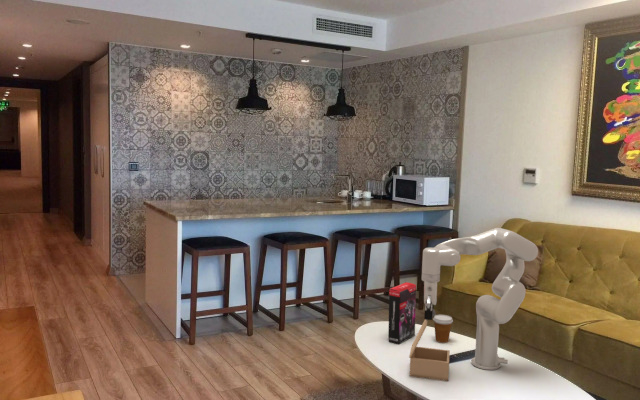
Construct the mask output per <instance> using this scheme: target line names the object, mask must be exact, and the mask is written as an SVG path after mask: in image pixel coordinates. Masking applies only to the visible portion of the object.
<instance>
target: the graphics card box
mask: <svg viewBox="0 0 640 400" xmlns="http://www.w3.org/2000/svg"><path fill="white" fill-rule="evenodd" d="M388 291H389V293H388V296H389V297H388V336H387V337H388V339H387V340H388V342H389V343H392V344H396V345H400V344H402V343H404V342H406V341H407V340H408V339H411V338H412V337H414V336H415V335H416V308H417V307H416V305H417V304H416V303H417V301H416V300H417V284H415V283H412V282H407V281H405V282H403V283H401V284H398V285H396V286H393V287H390V288H389V290H388Z"/></svg>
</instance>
